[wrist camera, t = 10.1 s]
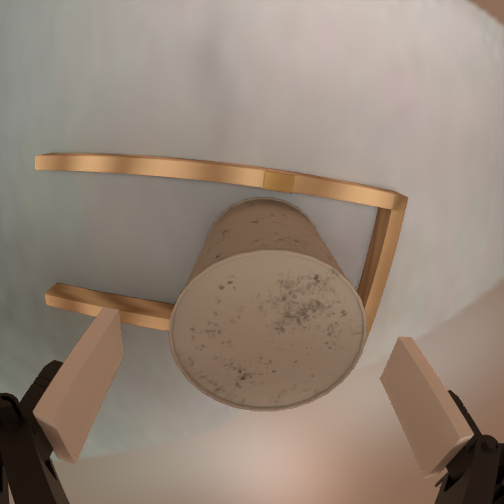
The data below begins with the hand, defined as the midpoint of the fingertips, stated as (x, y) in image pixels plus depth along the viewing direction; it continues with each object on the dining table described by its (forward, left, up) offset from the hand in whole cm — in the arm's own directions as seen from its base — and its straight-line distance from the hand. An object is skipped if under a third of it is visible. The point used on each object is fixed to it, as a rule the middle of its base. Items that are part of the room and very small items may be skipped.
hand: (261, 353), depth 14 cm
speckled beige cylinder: (0, 0, -13) cm, 13 cm away
